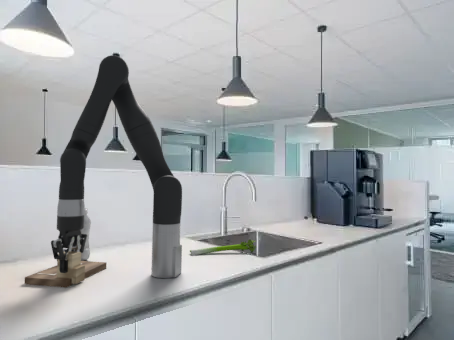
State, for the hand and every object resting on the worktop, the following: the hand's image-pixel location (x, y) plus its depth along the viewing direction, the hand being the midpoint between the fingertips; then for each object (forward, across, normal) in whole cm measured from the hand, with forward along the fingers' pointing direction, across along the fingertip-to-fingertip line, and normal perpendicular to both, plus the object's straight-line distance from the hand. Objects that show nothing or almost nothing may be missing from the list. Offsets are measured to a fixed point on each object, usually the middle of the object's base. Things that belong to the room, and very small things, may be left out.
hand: (68, 270), depth 97 cm
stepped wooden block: (+3, 0, 0) cm, 3 cm away
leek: (+4, +50, -39) cm, 64 cm away
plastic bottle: (+4, +24, +13) cm, 27 cm away
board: (+4, +6, +5) cm, 9 cm away
